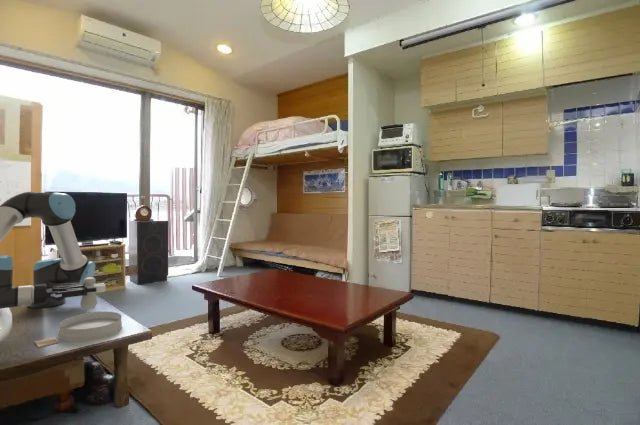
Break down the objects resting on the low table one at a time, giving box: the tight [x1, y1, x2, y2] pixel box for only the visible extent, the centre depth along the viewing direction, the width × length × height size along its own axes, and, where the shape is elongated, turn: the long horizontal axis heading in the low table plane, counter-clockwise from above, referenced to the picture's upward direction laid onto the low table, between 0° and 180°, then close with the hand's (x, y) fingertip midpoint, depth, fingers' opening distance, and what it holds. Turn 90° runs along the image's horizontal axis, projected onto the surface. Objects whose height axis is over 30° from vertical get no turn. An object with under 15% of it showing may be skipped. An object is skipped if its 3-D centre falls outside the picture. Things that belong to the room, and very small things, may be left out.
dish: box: [58, 311, 123, 342], centre depth 143 cm, size 22×22×5 cm
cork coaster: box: [34, 337, 59, 349], centre depth 129 cm, size 6×6×1 cm
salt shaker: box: [79, 276, 98, 311], centre depth 142 cm, size 6×6×13 cm
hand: (104, 287), depth 145 cm, fingers closed on salt shaker, 3 cm apart
